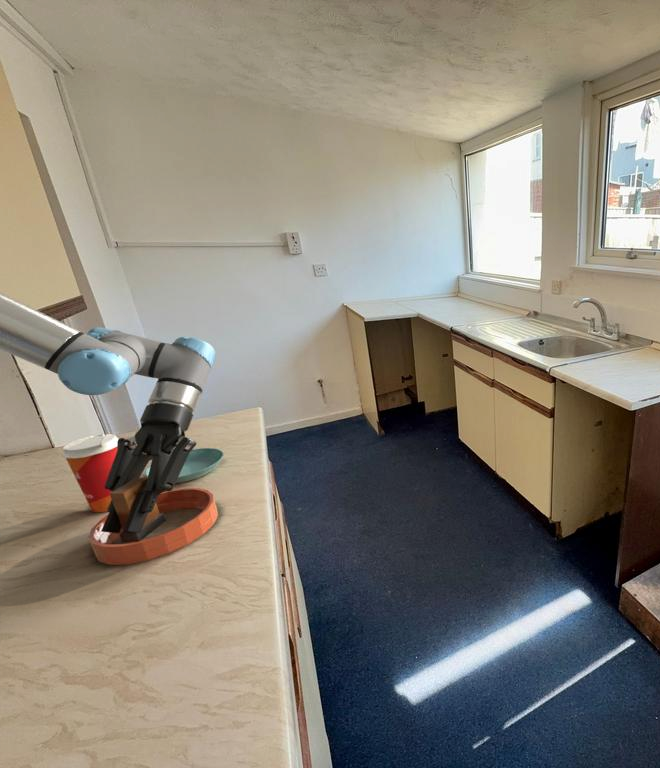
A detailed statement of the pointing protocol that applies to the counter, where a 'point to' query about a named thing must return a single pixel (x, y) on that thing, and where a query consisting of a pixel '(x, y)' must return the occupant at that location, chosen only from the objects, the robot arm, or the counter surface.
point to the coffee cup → (92, 467)
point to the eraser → (123, 506)
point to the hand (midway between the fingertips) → (121, 531)
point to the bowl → (161, 543)
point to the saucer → (198, 463)
